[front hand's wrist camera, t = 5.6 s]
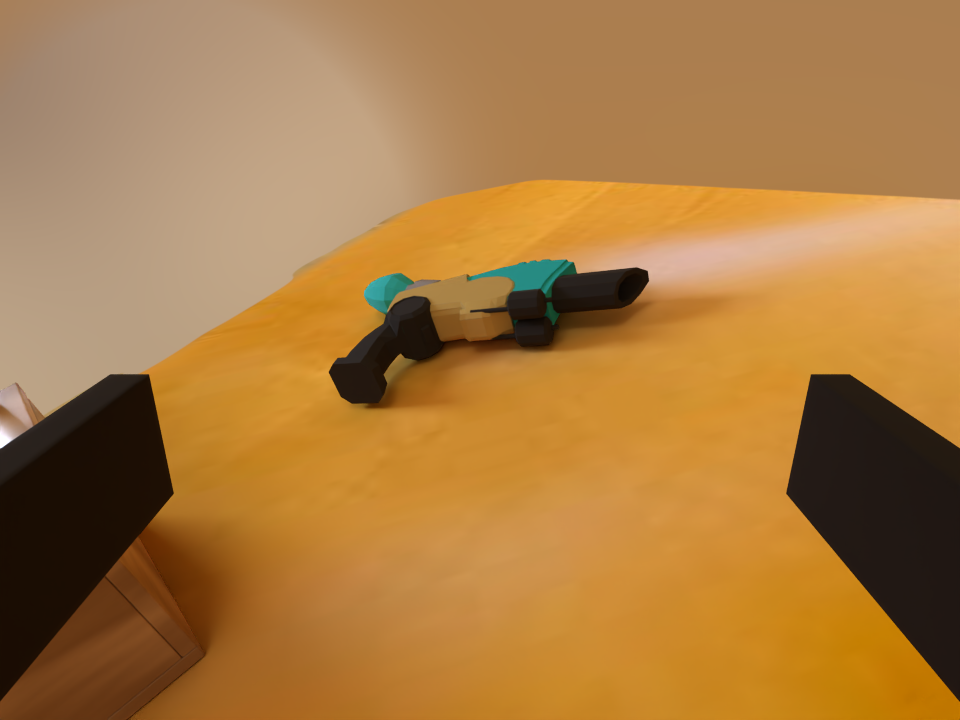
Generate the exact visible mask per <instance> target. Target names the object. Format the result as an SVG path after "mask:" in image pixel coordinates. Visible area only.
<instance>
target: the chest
mask: <svg viewBox="0 0 960 720" xmlns="http://www.w3.org/2000/svg"><path fill="white" fill-rule="evenodd" d="M28 400H29V399H28ZM29 403H30V405H31V407H32V409H33V412H34V414H35V416H36V419H37V421H38V423H39V422H40V421H42V420H43V419H45V417H44V416H43V415H42V414H41V413H40V411H39V410H38V409H37V408H36V407H35V405H34V404H33V403H32V402H31V401H30V400H29ZM204 655H205V653H204V652H203V650H202V648H201V646H200V644H199V643H198V641H197V639H196V637H195V636H194V634H193V632H192V630H191V628H190V627H189V625H188V623H187V621H186V620H185V618H184V616H183V614H182V613H181V611H180V609H179V607H178V605H177V604H176V602H175V600H174V598H173V597H172V595H171V593H170V591H169V589H168V588H167V586H166V584H165V582H164V581H163V579H162V577H161V575H160V574H159V572H158V570H157V568H156V566H155V565H154V563H153V561H152V559H151V558H150V556H149V554H148V552H147V551H146V549H145V547H144V545H143V543H142V542H141V540H140V538H139V536H138V537H137V538H136V539H135V541H134V542H133V543H132V544H131V545H130V547H129V548H128V549H127V550H126V551H125V553H124V554H123V555H122V556H121V557H120V559H119V560H118V561H117V562H116V563H115V565H114V566H113V567H112V568H111V569H110V571H109V572H108V573H107V574H106V575H105V577H104V578H103V579H102V580H101V581H100V583H99V584H98V585H97V586H96V587H95V589H94V590H93V591H92V592H91V593H90V595H89V596H88V597H87V598H86V599H85V601H84V602H83V603H82V604H81V605H80V607H79V608H78V609H77V610H76V611H75V613H74V614H73V615H72V616H71V617H70V619H69V620H68V621H67V622H66V623H65V625H64V626H63V627H62V628H61V629H60V631H59V632H58V633H57V634H56V635H55V637H54V638H53V639H52V640H51V641H50V643H49V644H48V645H47V646H46V647H45V649H44V650H43V651H42V652H41V653H40V655H39V656H38V657H37V658H36V659H35V661H34V662H33V663H32V664H31V665H30V667H29V668H28V669H27V670H26V671H25V673H24V674H23V675H22V676H21V677H20V679H19V680H18V681H17V682H16V683H15V685H14V686H13V687H12V688H11V689H10V691H9V692H8V693H7V694H6V695H5V697H4V698H3V699H2V700H1V701H0V720H127V719H128V718H129V717H130V716H132V715H133V714H134V713H135V712H136V711H138V710H139V709H140V708H141V707H143V706H144V705H145V704H146V703H147V702H149V701H150V700H151V699H152V698H153V697H155V696H156V695H157V694H158V693H160V692H161V691H162V690H163V689H164V688H166V687H167V686H168V685H169V684H170V683H172V682H173V681H174V680H175V679H176V678H178V677H179V676H180V675H181V674H183V673H184V672H185V671H186V670H187V669H189V668H190V667H191V666H192V665H193V664H195V663H196V662H197V661H198V660H199V659H201V658H202V657H203V656H204Z"/></svg>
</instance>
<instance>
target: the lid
mask: <svg viewBox="0 0 960 720" xmlns="http://www.w3.org/2000/svg"><path fill="white" fill-rule="evenodd" d="M37 423H38V421H37V419H36V416H35V414H34V412H33V409H32V407H31V405H30V403H29V400H28V398H27V396H26V393H25V392H24V391H23V390H22V388H21V387H20V386H19V385H18V384H17V383H14V384H12V385H10V386H8V387H6V388H4V389H2V390H0V448H1V447H3V446H4V445H6V444H7V443H9V442H10V441H12V440H13V439H15V438H16V437H18V436H19V435H21V434H22V433H24V432H25V431H27V430H28V429H30V428H31V427H33V426H34V425H36V424H37Z"/></svg>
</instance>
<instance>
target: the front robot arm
mask: <svg viewBox="0 0 960 720" xmlns="http://www.w3.org/2000/svg"><path fill="white" fill-rule="evenodd" d="M173 494H174V492H173V488H172V483H171V478H170V473H169V468H168V464H167V459H166V454H165V449H164V444H163V440H162V435H161V430H160V425H159V420H158V416H157V411H156V406H155V401H154V396H153V392H152V387H151V382H150V377H149V374H111V375H109V376H107V377H106V378H104V379H103V380H101V381H100V382H98V383H97V384H95V385H94V386H92V387H91V388H89V389H88V390H86V391H85V392H83V393H82V394H80V395H79V396H77V397H76V398H74V399H73V400H71V401H70V402H68V403H67V404H65V405H64V406H63V407H61V408H60V409H58V410H57V411H55V412H54V413H52V414H51V415H49V416H48V417H46V418H45V419H43V420H42V421H40V422H39V423H37V424H36V425H34V426H33V427H31V428H30V429H28V430H27V431H25V432H24V433H22V434H21V435H19V436H18V437H16V438H15V439H13V440H12V441H10V442H9V443H7V444H6V445H4V446H3V447H1V448H0V701H1V700H2V699H3V698H4V697H5V695H6V694H7V693H8V692H9V691H10V689H11V688H12V687H13V686H14V685H15V683H16V682H17V681H18V680H19V679H20V677H21V676H22V675H23V674H24V673H25V671H26V670H27V669H28V668H29V667H30V665H31V664H32V663H33V662H34V661H35V659H36V658H37V657H38V656H39V655H40V653H41V652H42V651H43V650H44V649H45V647H46V646H47V645H48V644H49V643H50V641H51V640H52V639H53V638H54V637H55V635H56V634H57V633H58V632H59V631H60V629H61V628H62V627H63V626H64V625H65V623H66V622H67V621H68V620H69V619H70V617H71V616H72V615H73V614H74V613H75V611H76V610H77V609H78V608H79V607H80V605H81V604H82V603H83V602H84V601H85V599H86V598H87V597H88V596H89V595H90V593H91V592H92V591H93V590H94V589H95V587H96V586H97V585H98V584H99V583H100V581H101V580H102V579H103V578H104V577H105V575H106V574H107V573H108V572H109V571H110V569H111V568H112V567H113V566H114V565H115V563H116V562H117V561H118V560H119V559H120V557H121V556H122V555H123V554H124V553H125V551H126V550H127V549H128V548H129V547H130V545H131V544H132V543H133V542H134V541H135V539H136V538H137V537H138V536H139V535H140V533H141V532H142V531H143V530H144V529H145V527H146V526H147V525H148V524H149V523H150V521H151V520H152V519H153V518H154V517H155V515H156V514H157V513H158V512H159V511H160V509H161V508H162V507H163V506H164V505H165V503H166V502H167V501H168V500H169V499H170V497H171V496H172V495H173ZM786 494H787V495H788V496H789V497H790V499H791V500H792V501H793V502H794V503H795V505H796V506H797V507H798V508H799V509H800V511H801V512H802V513H803V514H804V515H805V517H806V518H807V519H808V520H809V521H810V523H811V524H812V525H813V526H814V527H815V529H816V530H817V531H818V532H819V533H820V535H821V536H822V537H823V538H824V539H825V541H826V542H827V543H828V544H829V545H830V547H831V548H832V549H833V550H834V551H835V553H836V554H837V555H838V556H839V557H840V559H841V560H842V561H843V562H844V563H845V565H846V566H847V567H848V568H849V569H850V571H851V572H852V573H853V574H854V575H855V577H856V578H857V579H858V580H859V581H860V583H861V584H862V585H863V586H864V587H865V589H866V590H867V591H868V592H869V593H870V595H871V596H872V597H873V598H874V599H875V601H876V602H877V603H878V604H879V605H880V607H881V608H882V609H883V610H884V611H885V613H886V614H887V615H888V616H889V617H890V619H891V620H892V621H893V622H894V623H895V625H896V626H897V627H898V628H899V629H900V631H901V632H902V633H903V634H904V635H905V637H906V638H907V639H908V640H909V641H910V643H911V644H912V645H913V646H914V647H915V649H916V650H917V651H918V652H919V653H920V655H921V656H922V657H923V658H924V659H925V661H926V662H927V663H928V664H929V665H930V667H931V668H932V669H933V670H934V671H935V673H936V674H937V675H938V676H939V677H940V679H941V680H942V681H943V682H944V683H945V685H946V686H947V687H948V688H949V689H950V691H951V692H952V693H953V694H954V695H955V697H956V698H957V699H958V700H959V701H960V448H959V447H957V446H956V445H954V444H953V443H951V442H950V441H948V440H947V439H945V438H944V437H942V436H941V435H939V434H938V433H936V432H935V431H933V430H932V429H930V428H929V427H927V426H926V425H924V424H923V423H921V422H920V421H918V420H917V419H915V418H914V417H912V416H911V415H909V414H908V413H906V412H905V411H903V410H902V409H900V408H899V407H897V406H896V405H894V404H893V403H892V402H890V401H889V400H887V399H886V398H884V397H883V396H881V395H880V394H878V393H877V392H875V391H874V390H872V389H871V388H869V387H868V386H866V385H865V384H863V383H862V382H860V381H859V380H857V379H856V378H854V377H853V376H851V375H850V374H811V377H810V382H809V387H808V392H807V396H806V401H805V406H804V411H803V416H802V420H801V425H800V430H799V435H798V440H797V444H796V449H795V454H794V459H793V464H792V468H791V473H790V478H789V483H788V488H787V492H786Z"/></svg>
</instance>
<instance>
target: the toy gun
mask: <svg viewBox="0 0 960 720" xmlns="http://www.w3.org/2000/svg"><path fill="white" fill-rule="evenodd" d="M648 282H649V277H648V271H646V270H643V269H640V268H637V267H636V268H627V269H617V270H608V271H599V272H589V273H580V274H577V272H576V268H575V265H574V262H568V260H553V261H551V260H549V259H547V260H541V261H539V262H537V261H530V263H526V262H522V263H519V264H518V265H513V266H508V267H504V268H500V269H496V270H492V271H489V272H485V273H482V274H478V275H475V276H471V277H470V276H469V275H467V274H465V275H462V276H458V277H454V278H450V279H447V280H443V281H441V280H419V281H416V282H415V283H414V282H413V281H412V280H410V279H409V278H408V277H406V276H404V275H403V274H401V273H396V274H391V275H387V276H384V277H381V278H378V279H377V280H375V281H373V282H371V283H370V284H369V286H368V287H367V288H366V289H365V291H364V297H365V299H366V300H367V302H368V303H369V305H371V306H372V307H374V308H375V309H377V310H378V311H380V312H382V313H384V314H386V318H385V321H384V324H383V325H381V326H379V327H378V328H376V329H375V330H374V331H372V332H371V333H370V334H368V335H367V336H366V337H364V338H363V339H362V340H361V341H360V342H359V343H358V344H357V345H356V346H355V348H354V349H353V350H352V351H351V352H350V353H349V354H348V356H347V357H345V358H337V360H336V361H335V362H334V363H333V365H332V367H331V369H330V371H329V374H330V376H331V378H332V380H333V382H334V384H335V386H336V388H337V390H338V392H339V394H340V396H341V397H342V398H344V399H345V400H347V401H349V402H350V403H352V404H353V403H378V402H379V401H380V399H381V398H382V396H383V395H384V392H385V389H386V386H387V382H386V379H385V377H384V375H383V374H384V373H385V371H386V370H387V368H388V367H389V366H390V364H391V363H392V362H393V361H394V359H395V358H396V357H397V356H398V355H399V354H402V355H403V356H404V357H405V358H408V359H414V360H420V359H425V358H429V357H430V356H432V355H433V354H435V353H437V352H438V351H439V350H440V348H441V347H442V345H443V343H444V342H445V341H451V340H458V339H465V338H466V339H467V340H468V341H477V340H479V341H482V340H497V339H511V338H516V341H517V342H518V344H519V345H520V346H536V345H549V344H550V342H551V341H552V339H553V330H557V329H559V325H554V323H555V322H556V320H557V318H558V316H559V315H560V313H569V312H581V311H593V310H605V309H617V308H623V307H625V306H627V305H630V304H631V303H632V302H633V301H634V300H635V299H636V298H637V297H638V296H639V295H640V294H641V292H642V291H643V289H644V288H645V286H646V285H647V283H648ZM514 332H515V334H511V333H514Z"/></svg>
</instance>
